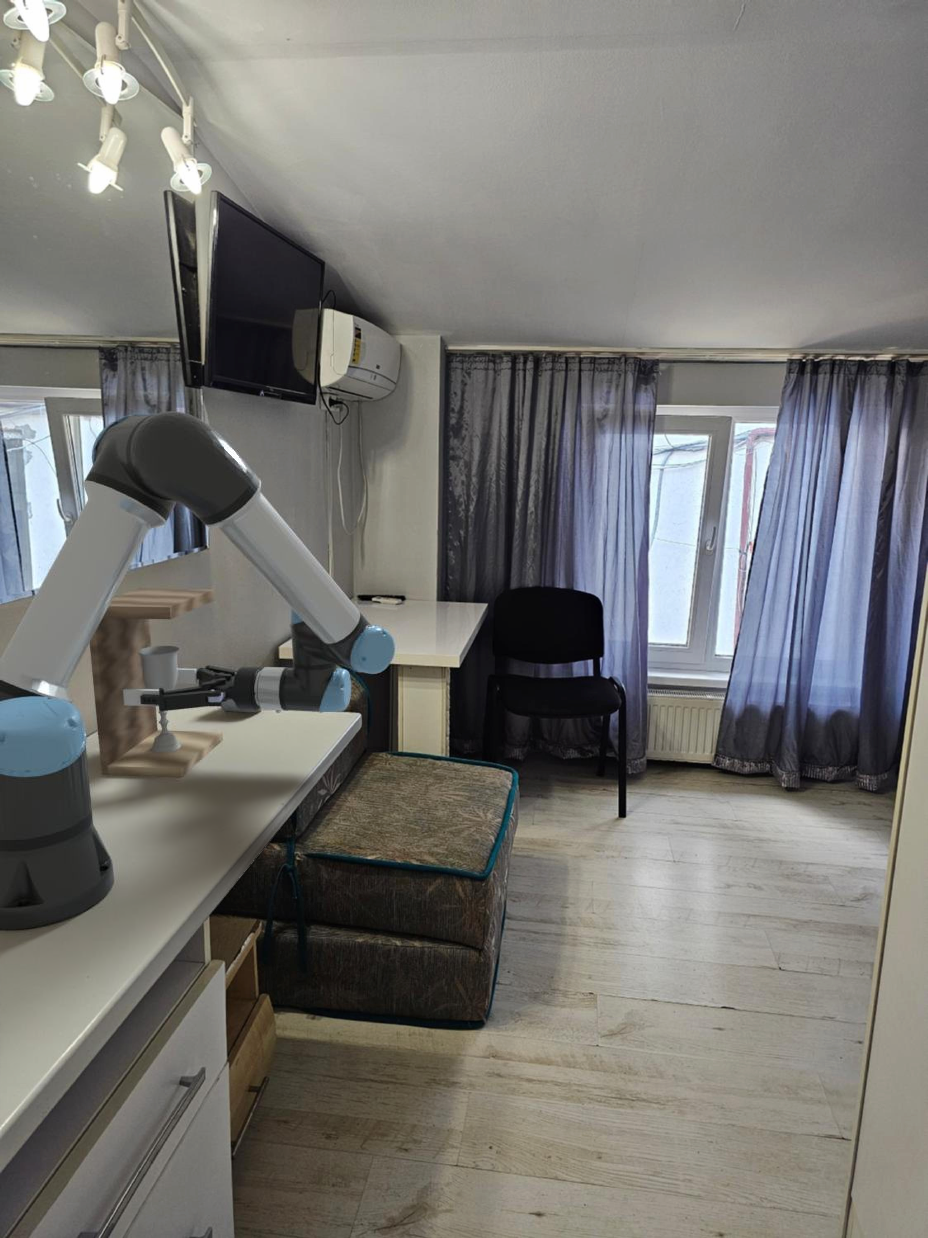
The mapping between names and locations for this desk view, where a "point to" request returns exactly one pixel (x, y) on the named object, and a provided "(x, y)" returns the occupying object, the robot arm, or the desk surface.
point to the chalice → (161, 674)
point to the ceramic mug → (234, 707)
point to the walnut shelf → (139, 686)
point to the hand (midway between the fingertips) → (144, 685)
